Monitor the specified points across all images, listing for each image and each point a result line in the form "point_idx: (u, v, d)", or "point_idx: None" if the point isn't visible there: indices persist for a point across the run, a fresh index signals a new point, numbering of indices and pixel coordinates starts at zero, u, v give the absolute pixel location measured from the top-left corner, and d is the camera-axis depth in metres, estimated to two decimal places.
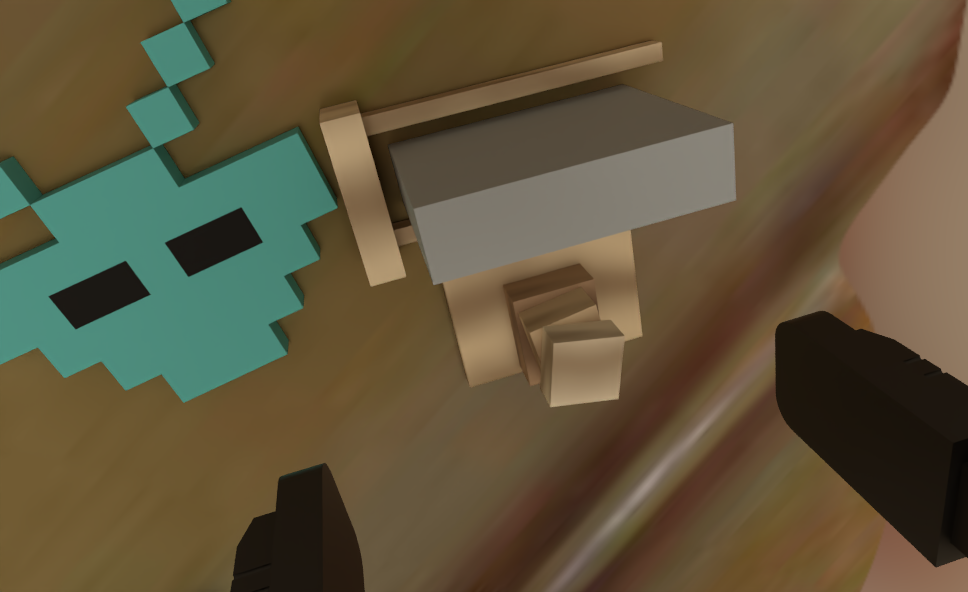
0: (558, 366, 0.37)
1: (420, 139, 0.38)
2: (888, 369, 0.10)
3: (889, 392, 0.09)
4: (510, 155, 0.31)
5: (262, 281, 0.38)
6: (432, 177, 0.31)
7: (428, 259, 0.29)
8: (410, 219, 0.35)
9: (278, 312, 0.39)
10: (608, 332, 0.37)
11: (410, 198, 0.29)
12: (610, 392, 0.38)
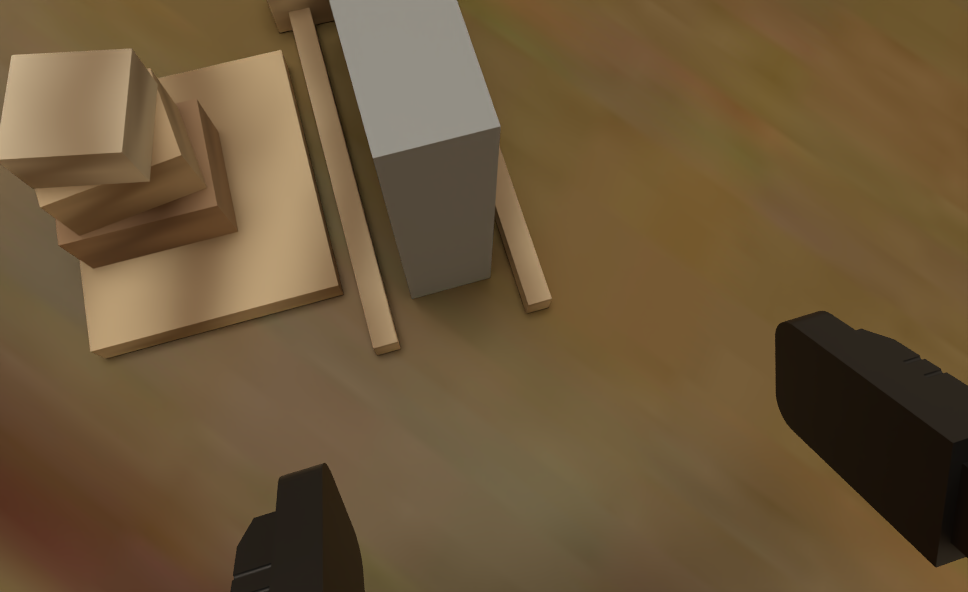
0: (87, 59, 0.23)
1: None
2: (888, 369, 0.10)
3: (889, 392, 0.09)
4: None
5: None
6: None
7: None
8: None
9: None
10: (132, 142, 0.23)
11: None
12: (12, 145, 0.22)
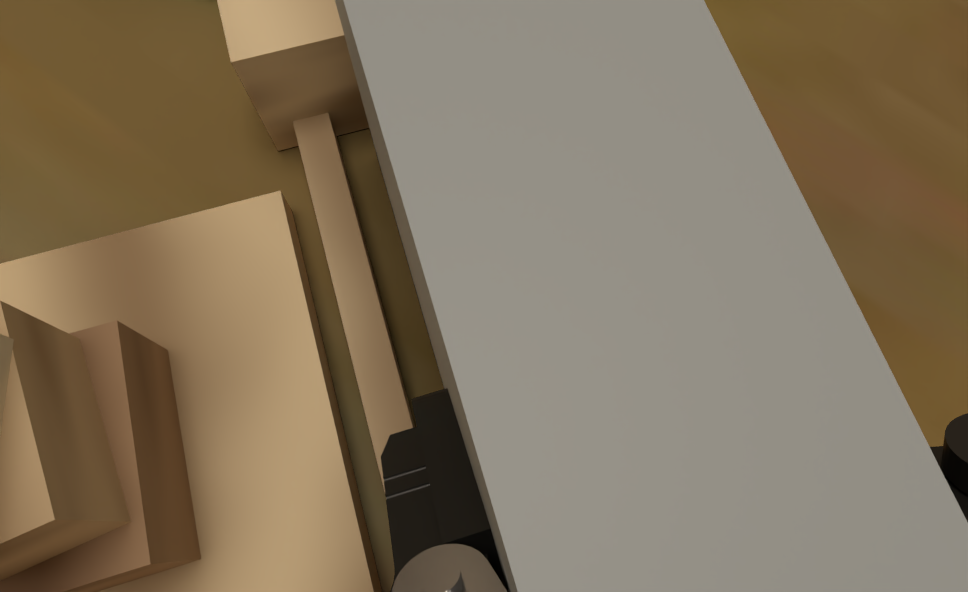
0: None
1: None
2: None
3: None
4: None
5: None
6: None
7: None
8: None
9: None
10: None
11: None
12: None
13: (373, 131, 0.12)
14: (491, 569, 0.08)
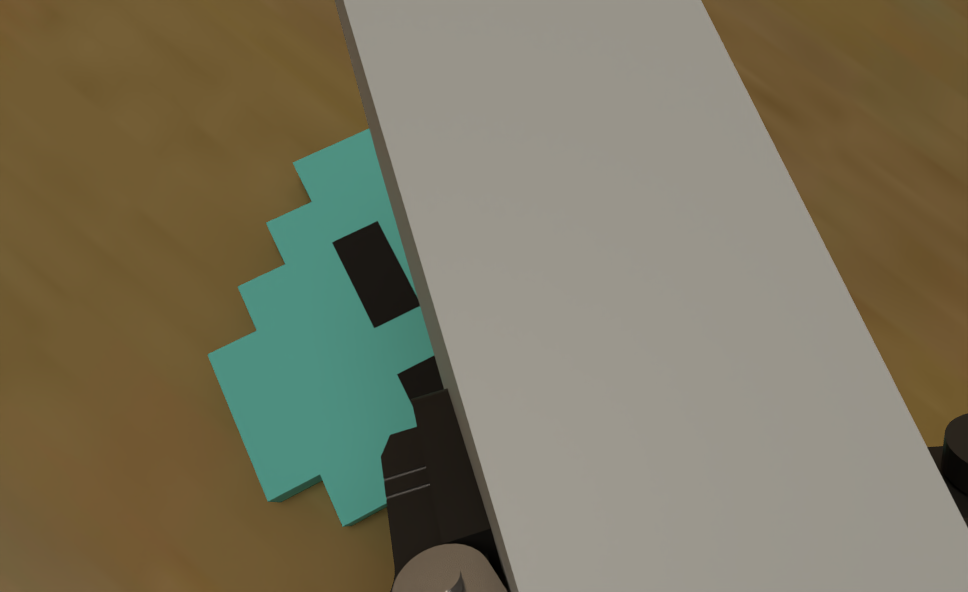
0: None
1: None
2: None
3: None
4: None
5: None
6: None
7: None
8: None
9: (337, 489, 0.27)
10: None
11: None
12: None
13: (374, 135, 0.12)
14: (491, 569, 0.08)
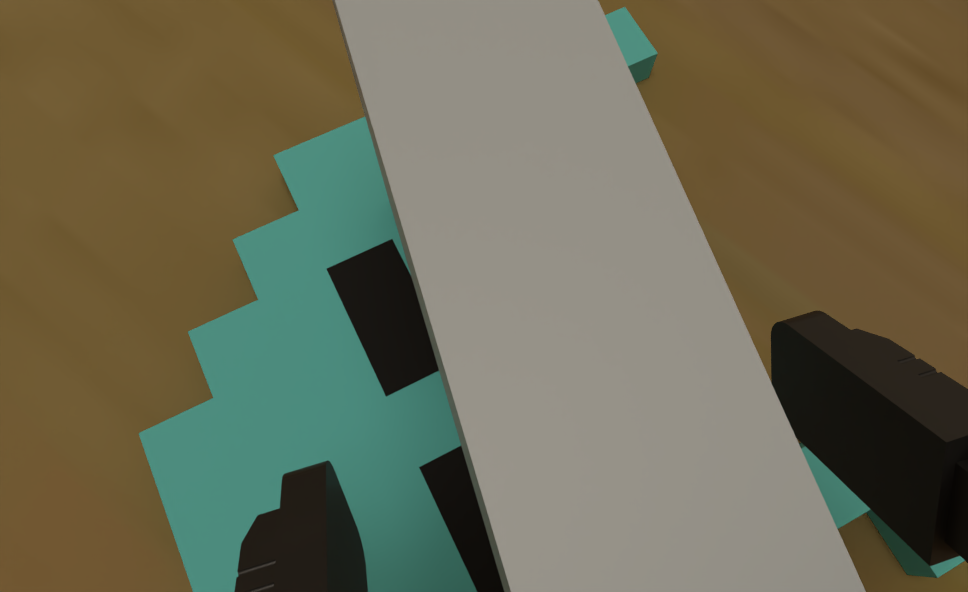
0: None
1: None
2: (883, 369, 0.10)
3: (884, 392, 0.09)
4: None
5: None
6: None
7: None
8: None
9: None
10: None
11: None
12: None
13: (392, 205, 0.14)
14: None
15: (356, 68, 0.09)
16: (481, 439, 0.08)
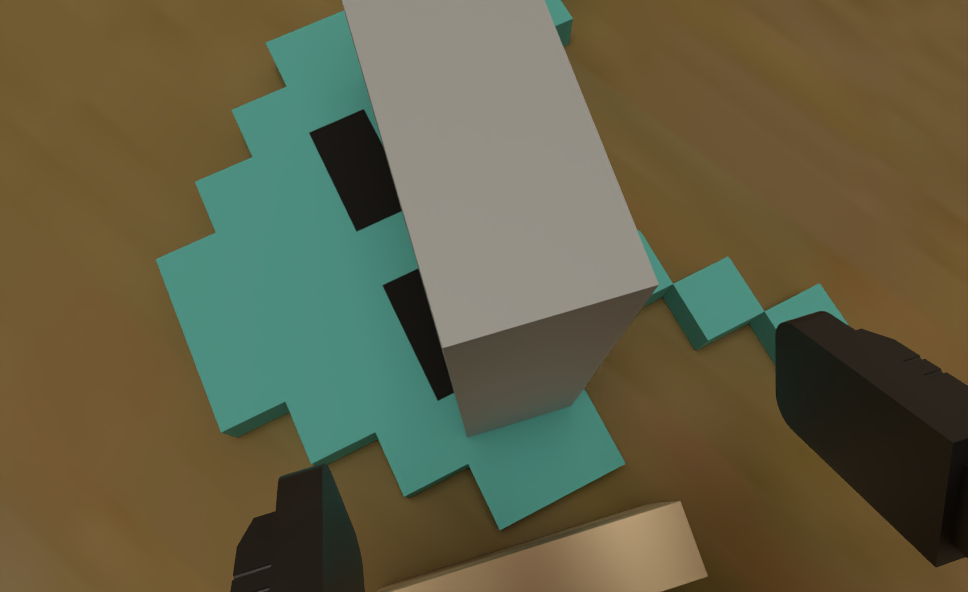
0: None
1: None
2: (888, 369, 0.10)
3: (889, 392, 0.09)
4: None
5: (367, 395, 0.22)
6: None
7: None
8: None
9: (306, 420, 0.22)
10: None
11: None
12: None
13: None
14: None
15: None
16: (380, 98, 0.12)
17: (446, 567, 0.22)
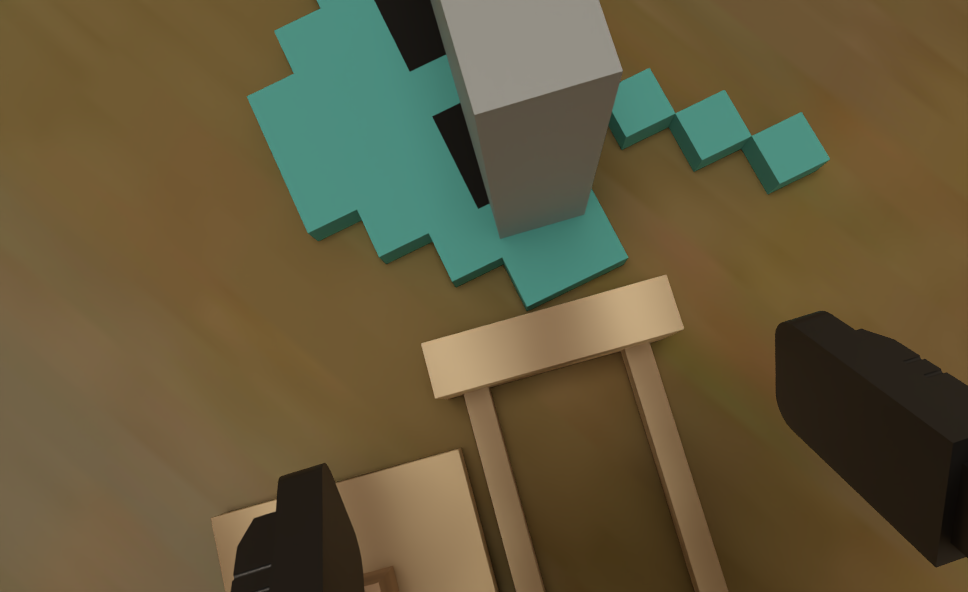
0: None
1: None
2: (888, 369, 0.10)
3: (889, 392, 0.09)
4: None
5: (421, 205, 0.28)
6: None
7: None
8: None
9: (374, 223, 0.28)
10: None
11: None
12: None
13: None
14: None
15: None
16: None
17: None
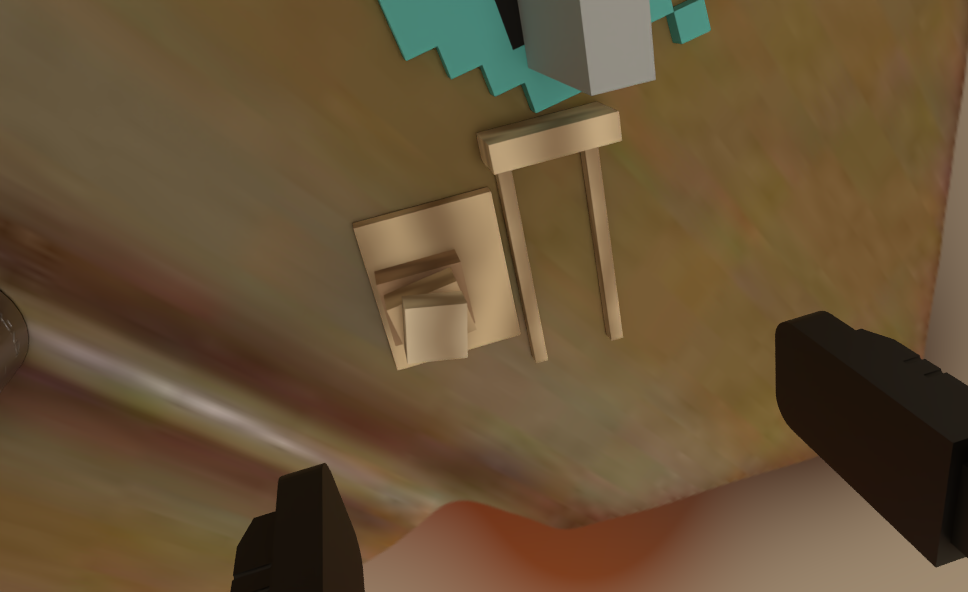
0: (445, 310, 0.44)
1: None
2: (888, 369, 0.10)
3: (889, 392, 0.09)
4: None
5: (478, 45, 0.44)
6: None
7: None
8: None
9: (448, 56, 0.44)
10: None
11: None
12: (414, 356, 0.45)
13: None
14: None
15: None
16: None
17: (506, 126, 0.48)
